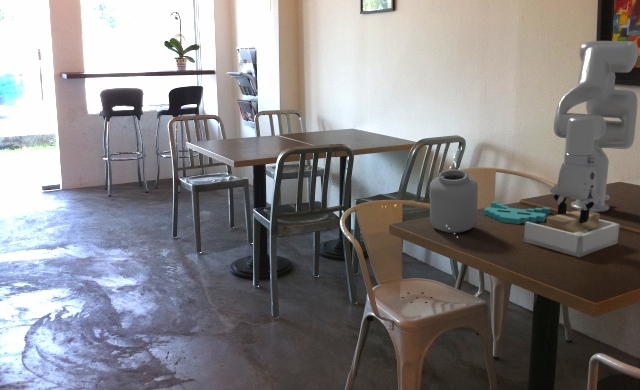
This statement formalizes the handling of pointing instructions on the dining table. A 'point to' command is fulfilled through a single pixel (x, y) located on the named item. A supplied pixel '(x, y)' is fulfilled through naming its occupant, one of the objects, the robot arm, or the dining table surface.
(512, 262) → the dining table surface
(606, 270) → the dining table surface
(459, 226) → the jar
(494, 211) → the alien figure
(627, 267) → the dining table surface
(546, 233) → the carcass
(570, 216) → the shelf board
